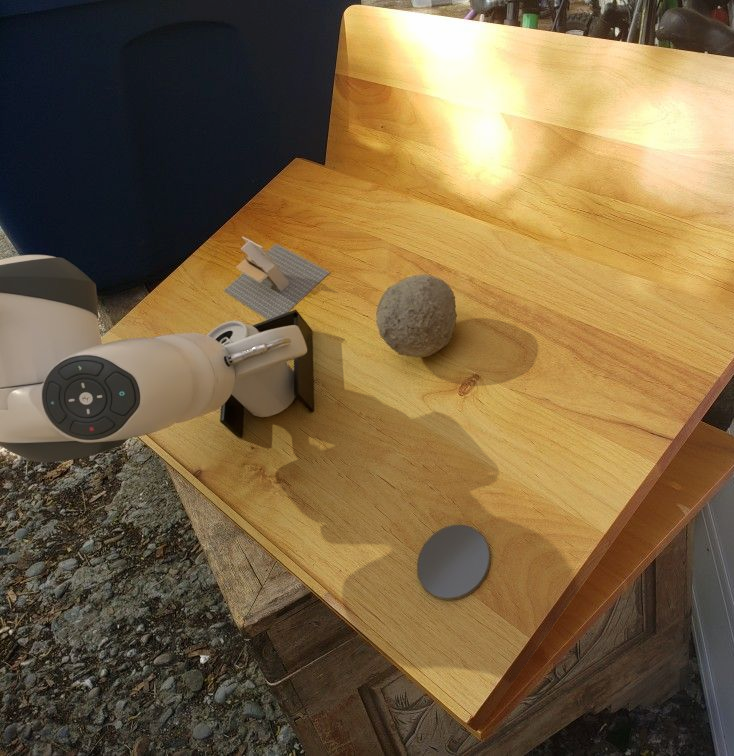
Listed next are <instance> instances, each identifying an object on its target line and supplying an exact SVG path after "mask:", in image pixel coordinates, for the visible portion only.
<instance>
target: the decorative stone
mask: <svg viewBox="0 0 734 756" xmlns="http://www.w3.org/2000/svg"><path fill="white" fill-rule="evenodd" d="M456 305H457V304H456V296H455V293H454V291H453V290H452V288H451V286H450V285H449V284H447V283H446V281H444V280H443V279H442V278H439V277H435V276H434V275H431V274H418V275H412V276H408V277H406V278H403V279H401V280H399V281H398V282H396V283H393V284H392V285H391V286H389V287H388V288H387V289H386V290H385V291H384V292H383V294H382V296H381V297H380V298H379V302H378V304H377V309H376V314H375V315H376V321H375V323H376V327H377V328H378V333H379V336H380V337H381V338H382V340H383V341H384V343H385V344H386V345H387V346H389V347H390V349H391V350H393V351H394V352H395V353H397V354H398V355H399V356H405V357H413V358H414V357H415V358H425V357H430V356H431V355H433V354H436V353H437V352H439V351H440V350H442V349H443V348H444V347H446V346H447V345H448V344H449V342H450V341H451V339H452V337H453V334H454V331H455V328H456V323H457V317H458V314H457V312H456V307H457V306H456Z"/></svg>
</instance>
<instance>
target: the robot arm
mask: <svg viewBox="0 0 734 756" xmlns="http://www.w3.org/2000/svg"><path fill="white" fill-rule="evenodd" d="M99 316H100V315H99V305H98V293H97V285H96V283H95V282H94V281H93V280H92V279H91V278H90V276H88V275H87V274H86V273H85V272H83V271H82V270H81V269H79V268H78V267H77V266H76V265H74V264H73V263H71V262H70V261H68V260H67V259H65V258H64V257H60V256H59V257H56V256H53V255H48V254H47V255H46V254H23V255H15V256H11V257H5V258H1V259H0V447H2V448H4V449H5V450H7V451H8V452H10V453H12V454H14V455H17V456H19V457H21V458H24V459H26V460H29V461H30V462H33V463H34V462H35V463H58V462H67V461H74V460H79V459H83V458H88V457H92V456H96V455H99V454H102V453H105V452H108V451H111V450H114V449H117V448H120V447H121V446H122V445H123V444H125V443H126V442H127V441H128V440H130V439H133V438H134V439H135V438H139V437H142V436H148V435H151V434H154V433H156V432H157V433H158V432H161V431H163V430H165V429H168V428H170V427H171V426H174V425H175V424H181V423H185V422H188V421H192V420H194V419H197V418H200V417H202V416H206V415H208V414H211V413H213V412H216V411H217V410H219V409H221V406H222V405H223V404H224V403H225V402H226V401H227V400H228V398H229V397H230V395H231V393H232V391H233V388H234V384H235V380H237V379H240V378H243V377H246V376H249V375H251V374H254V373H257V372H260V371H262V370H265V369H268V368H271V367H273V366H276V365H279V364H282V363H284V362H286V363H287V362H290V361H292V360H293V361H294V359H296V358H298V357H301V356H303V355H305V354H306V353H307V346H306V343H305V340H304V338H303V335H302V333H301V331H300V329H299V327H298V326H296V325H291V326H285V327H280V328H275V329H271V330H267V331H264V332H260V333H257V334H254V335H252V336H249V337H246V338H243V339H241V340H238V341H235V342H233V343H230V344H227V345H224V346H222V345H221V344H220V343H219V342H218V341H217V340H215V339H214V338H212V337H210V336H208V334H205V333H201V332H180V333H171V334H162V335H156V336H154V337H131V338H124V339H119V340H114V341H109V342H105V343H103V341H102V337H101V336H102V335H101V331H100V326H99V321H98V320H99V318H100V317H99Z"/></svg>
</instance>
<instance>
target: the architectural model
mask: <svg viewBox="0 0 734 756" xmlns="http://www.w3.org/2000/svg"><path fill="white" fill-rule="evenodd" d="M241 238H242V240H244V242H245V244H244V245H243V244H241V246H242V247H241V248H240V250H241V251H242V252H243V253H244V254H245V255H244V254H243V256H242V259H243V260H242V261H241V262H240V263H238V265H236V266H235V268H236V269H237V270H239V271H240V272H242V273H241V274H240V275H239V276H238V277H236V279H235V280H234V281H232V282H231V283H230V284H229V285H228V286H227V287H225V288H224V289H223V292H225V293H226V294H227V295H229V296H231V297H232V298H234V299H235V300H236V301H238V302H240V303H241V304H243V305H244V306H246V307H248V308H249V309H251V310H252V311H254V312H255V313H256V314H258V315H259V316H261V317H263V318H264V319H265V320H269V319H271V318H274V317H277V316H279V315H282V314H285V313H288V312H290V311H291V310H292V308H294V307H295V306H296V305H297V304H298V303H299V302H300V301H301V300H302V299H303V298H305V296H307V295H308V294H309V293H310V292H311V291H312V290H313V289H314V288H315V287H317V285H318V284H319V283H320V282H321V281H322V280H324V279H325V277H327V276H328V275H329V274H330V273H331V272H330V271H328V270H327V269H325V268H323V267H321V266H319V265H317V264H315V263H314V262H312V261H310V260H308V259H306V258H304V257H302V256H301V255H299V254H297V253H295V252H293V251H291V250H289V249H287V248H285V247H284V246H282V245H280V244H278V243H275V244H274V245H273V246H271V248H269V250H267V251H266V249H264V247H263V246H262V245H260V244H258V243H256V242H254V241H252V240H251V239H249V238H247V237H245V236H241ZM246 255H247V256H246Z"/></svg>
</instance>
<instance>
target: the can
mask: <svg viewBox="0 0 734 756" xmlns="http://www.w3.org/2000/svg"><path fill="white" fill-rule="evenodd" d="M257 333H260V332H259V331H258V330H257V329H256V328H255V327H253V326H252V324H246V323H245V322H243V321H241V320H229V321H226V322H224V323H221V324H219V325H218V326H216V327H214V328H213V329H212V330H210V332H208V333H207V335H208V336H210V337H212V338H214V339H215V340H217V341H218V342H219V343H220V344H221V345H222V346H224V345H227V344H230V343H233V342H235V341H238V340H241V339H243V338H246V337H249V336H252V335H254V334H257ZM231 394H232V395H233V396H234V397H235V398H236V399H237V400H238V401H239V402H240V403H241V404H242V405H243V406H244V409H246V410H247V411H248V412H250V414H252V415H253V416H254V417H260V418H264V417H265V418H266V417H267V418H268V417H271V416H274V415H278V414H280V413H282V412H283V411H285V410H286V409H288V407H290V405H292V404H293V402H294V401H295V399H296V397H295V396H294V369H293V368H292V367H291V366H290V365H289V364H288V363H287V362H284V363H282V364H279V365H276V366H273V367H271V368H268V369H265V370H262V371H260V372H257V373H254V374H251V375H249V376H246V377H243V378H240V379H237V380H235V384H234V388H233V391H232V393H231Z"/></svg>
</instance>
